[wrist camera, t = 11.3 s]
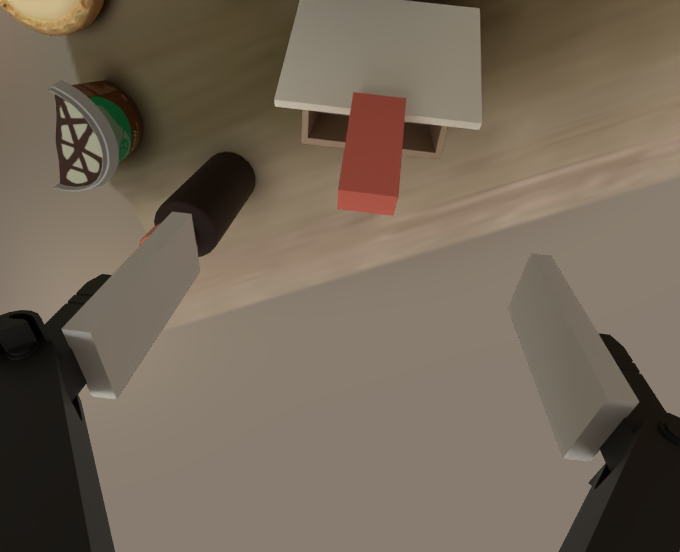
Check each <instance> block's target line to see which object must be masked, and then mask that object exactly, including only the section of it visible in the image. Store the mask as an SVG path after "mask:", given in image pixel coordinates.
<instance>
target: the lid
mask: <svg viewBox="0 0 680 552" xmlns="http://www.w3.org/2000/svg"><path fill="white" fill-rule="evenodd" d="M274 102H275V107H284V108H293V109H301V110H310V111H319V112H327V113H336V114H345V115H350V117H349V123H348V130H347V136H346V143H345V149H344V156H343V162H342V169H341V175H340V182H339V188H338V209H343V210H352V211H360V212H368V213H376V214H384V215H393V214H394V211H395V207H396V203H397V200H398V194H399V182H400V169H401V157H402V145H403V132H404V121H405V122H414V123H423V124H431V125H440V126H449V127H457V128H466V129H475V130H479V129H480V127H481V125H482V94H481V42H480V8H472V7H462V6H453V5H444V4H435V3H425V2H416V1H407V0H300V1H299V5H298V9H297V13H296V17H295V21H294V25H293V29H292V32H291V36H290V40H289V44H288V48H287V52H286V56H285V60H284V63H283V67H282V71H281V75H280V79H279V83H278V87H277V91H276V94H275V98H274Z"/></svg>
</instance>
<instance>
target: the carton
mask: <svg viewBox="0 0 680 552" xmlns="http://www.w3.org/2000/svg"><path fill="white" fill-rule="evenodd" d="M349 117H350V115H345V114H336V113H327V112H319V111H310V110H302V143H304V144H312V145H321V146H329V147H338V148H345V143H346V136H347V130H348V123H349ZM447 129H448V126H440V125H431V124H423V123H414V122H405V121H404V132H403V145H402V155H406V156H414V157H423V158H431V159H440V158H441V154H442V150H443V146H444V141H445V137H446V133H447Z"/></svg>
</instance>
